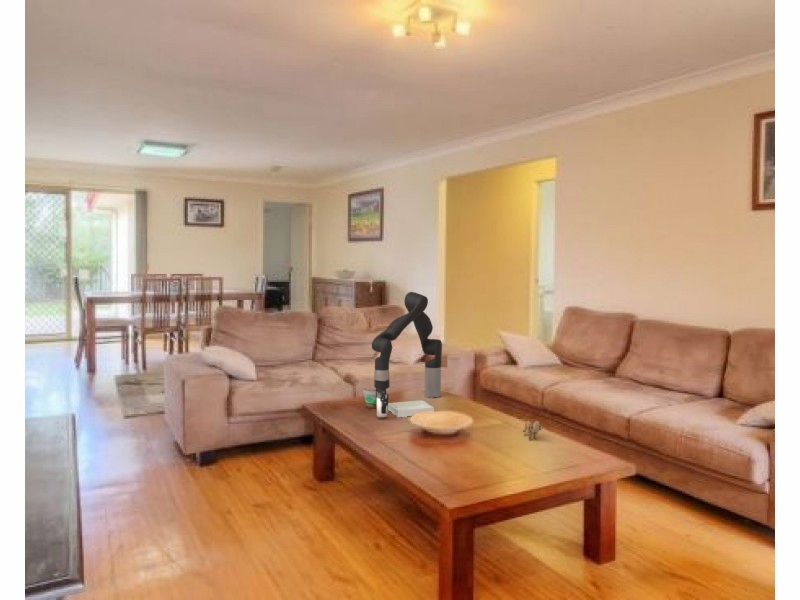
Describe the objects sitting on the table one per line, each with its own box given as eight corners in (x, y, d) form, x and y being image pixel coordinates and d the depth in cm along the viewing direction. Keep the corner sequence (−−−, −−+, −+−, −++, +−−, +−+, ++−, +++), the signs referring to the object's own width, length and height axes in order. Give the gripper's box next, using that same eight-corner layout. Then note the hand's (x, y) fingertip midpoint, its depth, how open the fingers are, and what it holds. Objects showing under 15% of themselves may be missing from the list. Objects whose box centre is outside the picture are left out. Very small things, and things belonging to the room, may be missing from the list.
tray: (388, 409, 293) (388, 403, 293) (422, 406, 300) (422, 400, 300) (397, 417, 279) (398, 411, 278) (433, 414, 285) (434, 407, 285)
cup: (375, 414, 278) (375, 396, 277) (385, 413, 280) (385, 396, 279) (378, 417, 273) (378, 399, 273) (388, 416, 275) (388, 398, 274)
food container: (359, 408, 295) (359, 390, 294) (364, 405, 301) (364, 387, 300) (380, 411, 290) (380, 392, 290) (385, 408, 296) (385, 389, 295)
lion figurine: (543, 442, 243) (544, 422, 242) (532, 443, 241) (533, 423, 241) (527, 432, 257) (528, 413, 256) (517, 433, 256) (517, 413, 255)
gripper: (370, 375, 280) (370, 408, 282) (379, 382, 267) (379, 416, 268) (384, 374, 283) (384, 407, 284) (393, 380, 270) (393, 415, 271)
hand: (381, 411), depth 276 cm, fingers closed on cup, 5 cm apart
